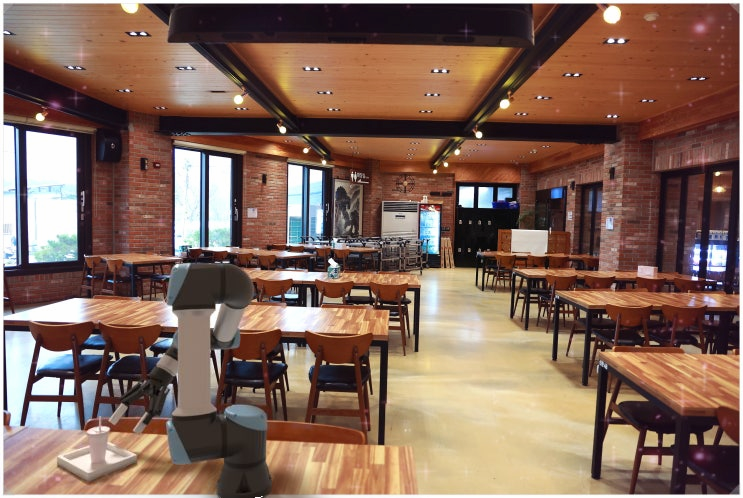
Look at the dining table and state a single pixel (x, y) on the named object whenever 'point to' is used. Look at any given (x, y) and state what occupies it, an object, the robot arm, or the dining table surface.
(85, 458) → the tray
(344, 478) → the dining table surface
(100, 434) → the smoothie
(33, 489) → the dining table surface
